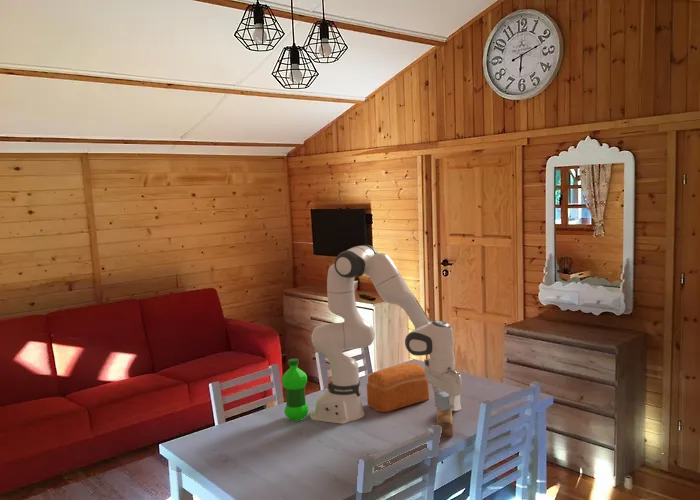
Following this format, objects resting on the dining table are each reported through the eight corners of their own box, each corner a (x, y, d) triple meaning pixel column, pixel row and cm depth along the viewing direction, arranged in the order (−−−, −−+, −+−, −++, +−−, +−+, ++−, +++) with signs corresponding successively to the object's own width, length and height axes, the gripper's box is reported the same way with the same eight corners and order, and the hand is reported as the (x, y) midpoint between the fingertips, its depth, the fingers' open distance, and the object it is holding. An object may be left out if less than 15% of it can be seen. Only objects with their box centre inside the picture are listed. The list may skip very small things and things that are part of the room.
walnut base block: (436, 436, 222) (436, 423, 221) (437, 429, 227) (437, 416, 227) (452, 436, 220) (452, 423, 220) (453, 430, 226) (453, 417, 225)
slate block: (435, 406, 224) (434, 393, 224) (446, 403, 226) (445, 391, 226) (442, 410, 220) (441, 397, 219) (453, 408, 222) (453, 395, 221)
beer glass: (443, 410, 245) (441, 375, 244) (448, 404, 251) (447, 370, 250) (459, 412, 242) (458, 377, 240) (464, 406, 248) (463, 371, 247)
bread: (432, 399, 258) (431, 364, 256) (383, 414, 244) (381, 377, 243) (412, 391, 270) (411, 357, 268) (364, 405, 256) (362, 369, 254)
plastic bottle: (304, 424, 238) (300, 364, 235) (280, 422, 242) (276, 363, 239) (313, 415, 248) (309, 356, 245) (290, 413, 251) (286, 355, 248)
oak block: (437, 422, 222) (436, 409, 221) (438, 417, 226) (438, 404, 226) (450, 423, 220) (450, 410, 220) (452, 417, 225) (451, 405, 225)
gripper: (465, 370, 213) (466, 407, 214) (435, 356, 231) (437, 390, 233) (450, 373, 210) (452, 411, 212) (421, 359, 229) (423, 393, 231)
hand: (443, 400), depth 223 cm, fingers open, 8 cm apart
